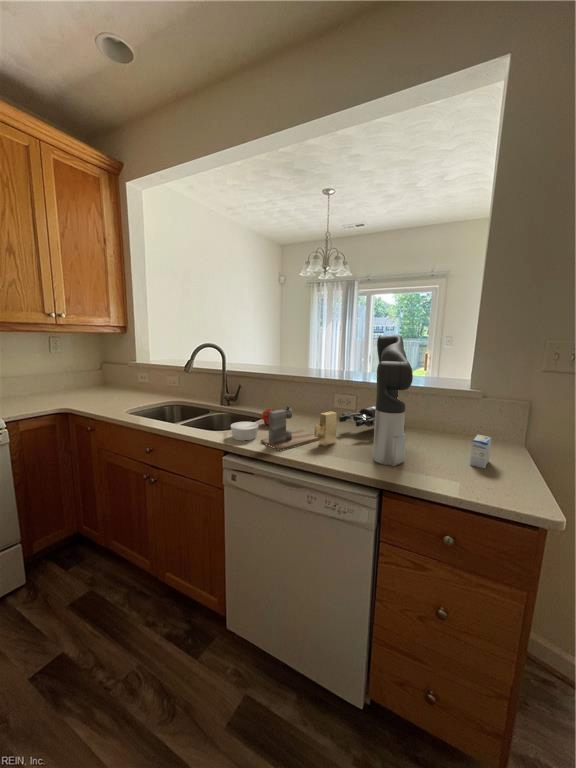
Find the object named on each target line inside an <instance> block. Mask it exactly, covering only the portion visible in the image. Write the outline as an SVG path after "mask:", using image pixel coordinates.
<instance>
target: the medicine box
mask: <svg viewBox="0 0 576 768" xmlns="http://www.w3.org/2000/svg"><path fill="white" fill-rule="evenodd" d="M492 440H493V439H492V437H491V436H486V435H483V434H482V435H481V434H476V436H475V437H474V439H473V440H472V444H471V453H470V462H469V465H470V466H473V467H478V468H480V469H486V467H487V465H488V463H489V461H490V454H491V449H492V448H491V447H492Z"/></svg>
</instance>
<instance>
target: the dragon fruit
mask: <svg viewBox="0 0 576 768" xmlns="http://www.w3.org/2000/svg"><path fill="white" fill-rule="evenodd" d="M275 410H276V409H274V408H271V407H269V408H267V409H265V410H264V411H263V412H262V415H261V417H260V420H263V423H264V425H265V426H267V425H269V412H270V411H275Z"/></svg>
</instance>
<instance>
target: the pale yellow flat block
mask: <svg viewBox="0 0 576 768" xmlns="http://www.w3.org/2000/svg"><path fill="white" fill-rule="evenodd" d="M337 413H338V412H334V411H327V412H326V411H325V412H322V413H319V414H320V415H319V417H320V418H319V424H314V433H313V434H314V436H315V437H320V440H318V441H319V445H321V446H324V447H327V446H329V445H333V444H336V443H337V442H336V441H337V418H338V417H337V416H338V414H337Z"/></svg>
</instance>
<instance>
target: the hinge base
mask: <svg viewBox="0 0 576 768" xmlns="http://www.w3.org/2000/svg"><path fill="white" fill-rule="evenodd" d="M292 418H293V409H292V408H290V405H287V406H286V408H282V409H277V410H276V409H275V411H270V412H269V424H268V437H267V438H262V439H260V443H261V442H263V443H265V444H267V445H266V446H268V445H270V446H272V447H274V448H273V449H275V448H276V449H275V450H277V449H279V450H283V449H286V450H288V449H287V448H289V449H292V448H291V447H293V448H295V447H294V446H296V447H299V446H298V445H300V446H302V444H303V445H307V444H310V443H312V442H317V441H319V440H320V437H315V436H314V434H315V433H312V432H309V431H307V430H303V429H299V430H294V431H292V430H288V429H287V419H292ZM309 442H310V443H309ZM263 443H262V444H263ZM306 443H307V444H306ZM265 444H264V445H265ZM270 446H269V447H270ZM272 447H271V448H272ZM279 450H278V451H279ZM283 451H284V450H283Z"/></svg>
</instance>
